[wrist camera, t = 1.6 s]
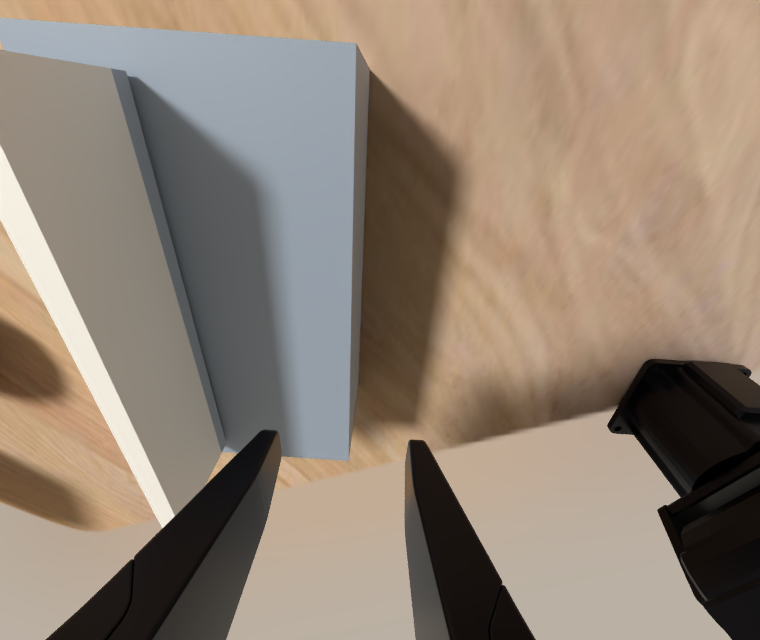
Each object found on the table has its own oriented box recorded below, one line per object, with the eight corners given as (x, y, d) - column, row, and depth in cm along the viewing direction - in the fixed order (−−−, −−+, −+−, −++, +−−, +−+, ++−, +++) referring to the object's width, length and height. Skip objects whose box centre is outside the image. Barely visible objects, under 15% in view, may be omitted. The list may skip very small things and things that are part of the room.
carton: (358, 386, 24) (348, 460, 19) (216, 376, 24) (167, 448, 19) (369, 69, 14) (356, 43, 9) (135, 52, 14) (-10, 17, 9)
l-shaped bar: (226, 443, 18) (181, 531, 14) (164, 439, 18) (103, 525, 14) (126, 70, 10) (-49, 41, 6) (9, 62, 10) (-242, 27, 6)
